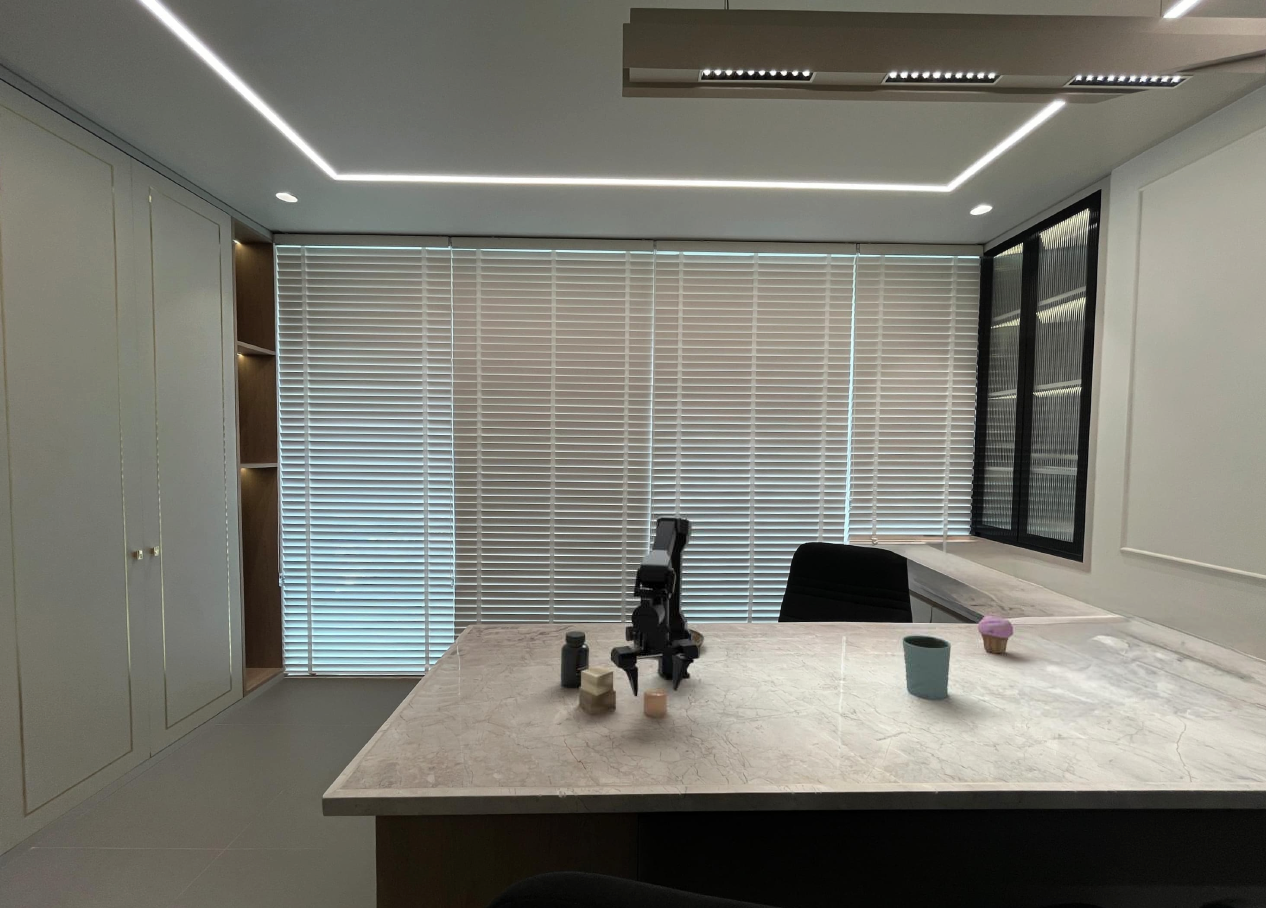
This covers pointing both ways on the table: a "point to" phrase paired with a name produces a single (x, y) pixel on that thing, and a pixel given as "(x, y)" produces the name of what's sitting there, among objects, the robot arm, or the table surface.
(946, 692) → the teal cup
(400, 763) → the table surface
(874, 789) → the table surface
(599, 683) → the oak block
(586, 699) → the walnut block
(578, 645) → the supplement bottle
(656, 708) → the peach cylinder
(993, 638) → the cupcake
